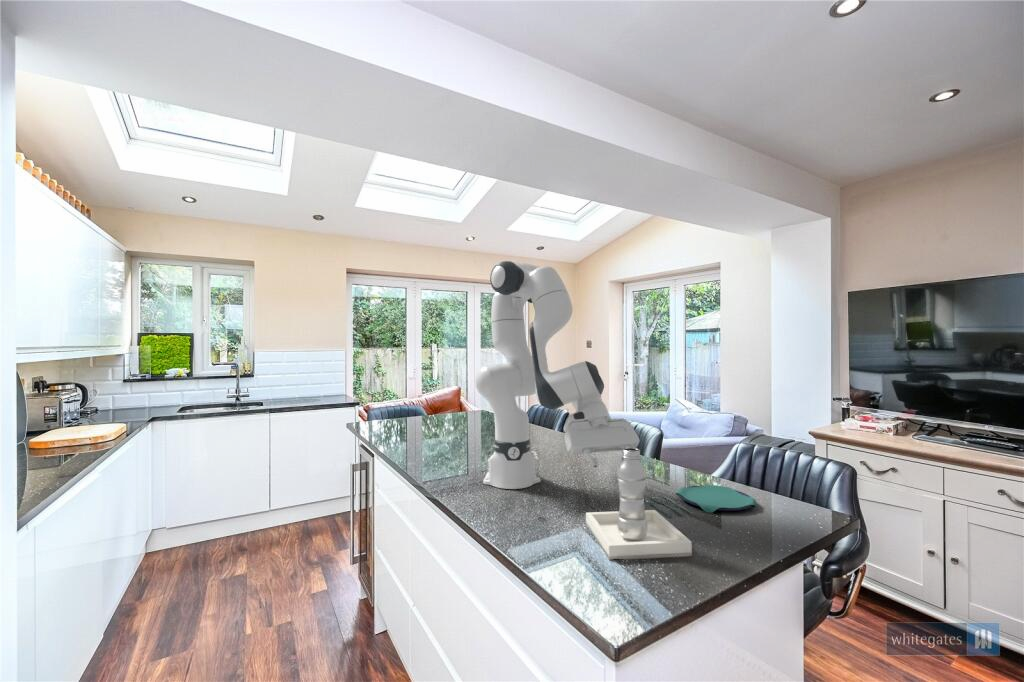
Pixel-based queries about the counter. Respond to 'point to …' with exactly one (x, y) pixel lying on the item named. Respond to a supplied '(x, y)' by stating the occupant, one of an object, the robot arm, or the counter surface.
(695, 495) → the cutlery set
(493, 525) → the counter surface
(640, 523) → the plastic bottle
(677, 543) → the ceramic dish
